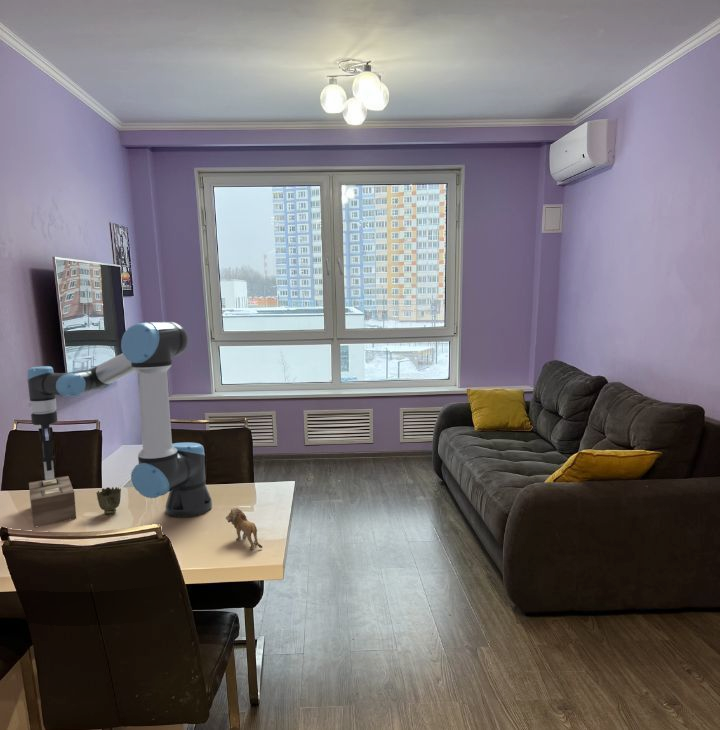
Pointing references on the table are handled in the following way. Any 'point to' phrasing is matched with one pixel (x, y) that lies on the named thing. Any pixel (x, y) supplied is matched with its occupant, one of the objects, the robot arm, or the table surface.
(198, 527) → the table surface
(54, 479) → the peg
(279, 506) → the table surface
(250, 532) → the lion figurine
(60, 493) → the wooden box
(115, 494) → the cup
